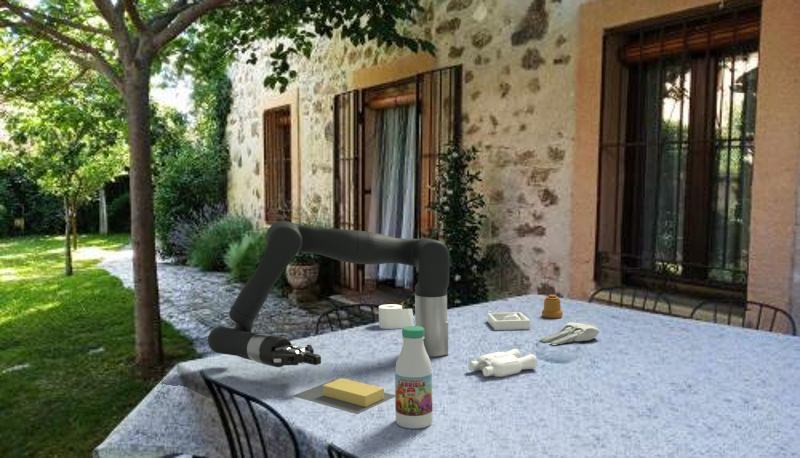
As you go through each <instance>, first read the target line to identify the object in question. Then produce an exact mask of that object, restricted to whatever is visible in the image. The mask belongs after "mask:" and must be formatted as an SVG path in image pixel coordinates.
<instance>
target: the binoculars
mask: <svg viewBox="0 0 800 458" xmlns="http://www.w3.org/2000/svg"><path fill="white" fill-rule="evenodd" d="M537 368H538V359H537V357H536V356H535V355H534V354H532V353H530V354H527V355H526V356H522V354H521V352H520V350H518V349H517V348H512V349H510V350H508V351H506V352H504V351H496V352H492V353H491V352H490V353H488V354H487V353H486V354H482V355H481V356H479V357H478V358H477V359H476V360H472V361H469V362H468V369H469V370H470V371H475V370H478V371H480V372H482V375H483V376H485V377H490V376H491V377H492V376H493V377H496V378H503V377H508V376H512V375H515V374H519V373H520V372H521V371H522V370H535V369H537Z"/></svg>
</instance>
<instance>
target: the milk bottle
mask: <svg viewBox="0 0 800 458" xmlns="http://www.w3.org/2000/svg"><path fill="white" fill-rule="evenodd" d="M401 336H402V338H401V339H402V340H403V341H402V342H403V343H402V347H401V349H400V353H399V355H398V357H397V359H396V363H395V372H394V373H395V374H394V377H395V378H394V380H395V382H394V387H395V388H394V392H395V393H394V395H395V397H394V398H395V422H396V424H397V425H398V426H399V427H401V428H405V429H410V430H411V429H413V430H415V429H417V430H418V429H424V428H427V427H430V426H431V425H432V423H433V417H434V414H433V411H434V410H433V409H434V404H433V403H434V400H433V398H434V397H433V369H432V363H431V359H430V357H429V356H428V354H427V352H426V350H425V347H424V343H423V339H424V328H423V327H420V326H415V325H413V326H407V327H404V328H401Z"/></svg>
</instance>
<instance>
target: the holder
mask: <svg viewBox="0 0 800 458" xmlns="http://www.w3.org/2000/svg"><path fill="white" fill-rule="evenodd" d="M511 313H512V312H487V316H486V317H487V321H486V322H487V323H488V324H489V325H490V326H491V327H492V329H493V330H494V331H510V330H511V331H514V330H521V331H522V330H531V320H530V319H529V318H528V317H527V316H526V315H525V314H524V313H522V312H521V311H520V312H514V313H516V314H517V316H518V317H520V319H521V320H503V319H504V317H506V316H508V315H510V314H511Z"/></svg>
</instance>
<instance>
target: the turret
mask: <svg viewBox="0 0 800 458" xmlns="http://www.w3.org/2000/svg"><path fill="white" fill-rule="evenodd" d="M599 333H600V330H599V329H598V328H597V327H596V326H595V325H593V324H586V323H578V322H572V321H569V322H568V323H566V324H565V325H564V326H563V327H562V328H561V329H560V330H559V331H558V332H556V333H553V334H551V335H548V336H545V337H542V338H541V339H539V342H540V343H543V342H547V343H551V344H560V345H563V344H566V343H570V344H571V343H578V342H584V341H587V342H588V341H591V340H593V339H595V338H597V337H598V335H599Z"/></svg>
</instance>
